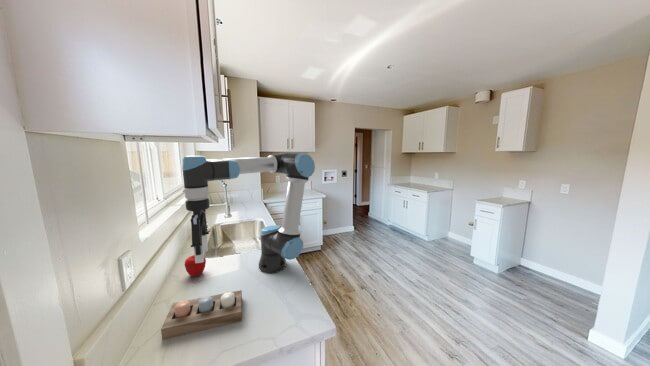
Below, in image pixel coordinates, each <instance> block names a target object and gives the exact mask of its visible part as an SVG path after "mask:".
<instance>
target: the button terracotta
mask: <svg viewBox="0 0 650 366" xmlns="http://www.w3.org/2000/svg"><path fill="white" fill-rule="evenodd" d="M178 302H179V303H177V304H176V305H175V306H174V310H175V319H176V318H181V317H186V316H190V314H191V310H190V302H189V301H187V300H181V301H178Z"/></svg>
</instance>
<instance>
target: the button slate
mask: <svg viewBox="0 0 650 366" xmlns="http://www.w3.org/2000/svg"><path fill="white" fill-rule="evenodd" d="M211 296H212V295H209V296H207V295H206V296H203V297H200V298H201V299H200V300H199V302H198V305H199V314H200V313H205V312H209V311H214V309H213V298H212V297H211Z"/></svg>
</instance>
